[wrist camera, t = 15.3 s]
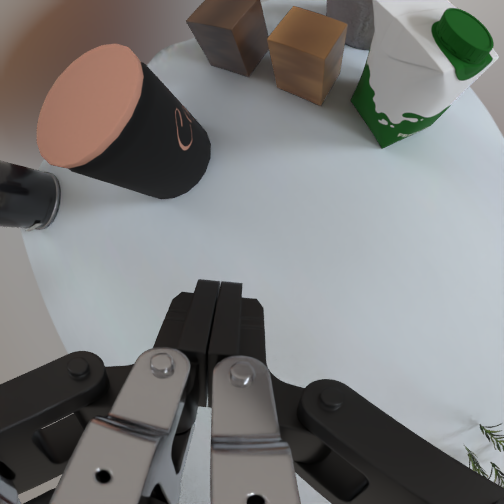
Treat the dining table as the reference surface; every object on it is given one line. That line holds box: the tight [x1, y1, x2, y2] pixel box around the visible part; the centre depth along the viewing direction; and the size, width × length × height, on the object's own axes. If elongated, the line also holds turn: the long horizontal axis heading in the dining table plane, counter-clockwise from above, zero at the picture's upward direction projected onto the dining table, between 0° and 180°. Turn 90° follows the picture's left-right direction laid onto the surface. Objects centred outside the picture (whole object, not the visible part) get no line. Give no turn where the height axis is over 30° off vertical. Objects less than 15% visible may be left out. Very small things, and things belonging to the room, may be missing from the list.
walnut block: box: [186, 0, 269, 77], centre depth 28 cm, size 6×6×10 cm
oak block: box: [267, 6, 347, 106], centre depth 27 cm, size 6×6×10 cm
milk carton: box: [351, 0, 499, 149], centre depth 20 cm, size 9×9×20 cm
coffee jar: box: [37, 44, 211, 199], centre depth 26 cm, size 11×11×18 cm
